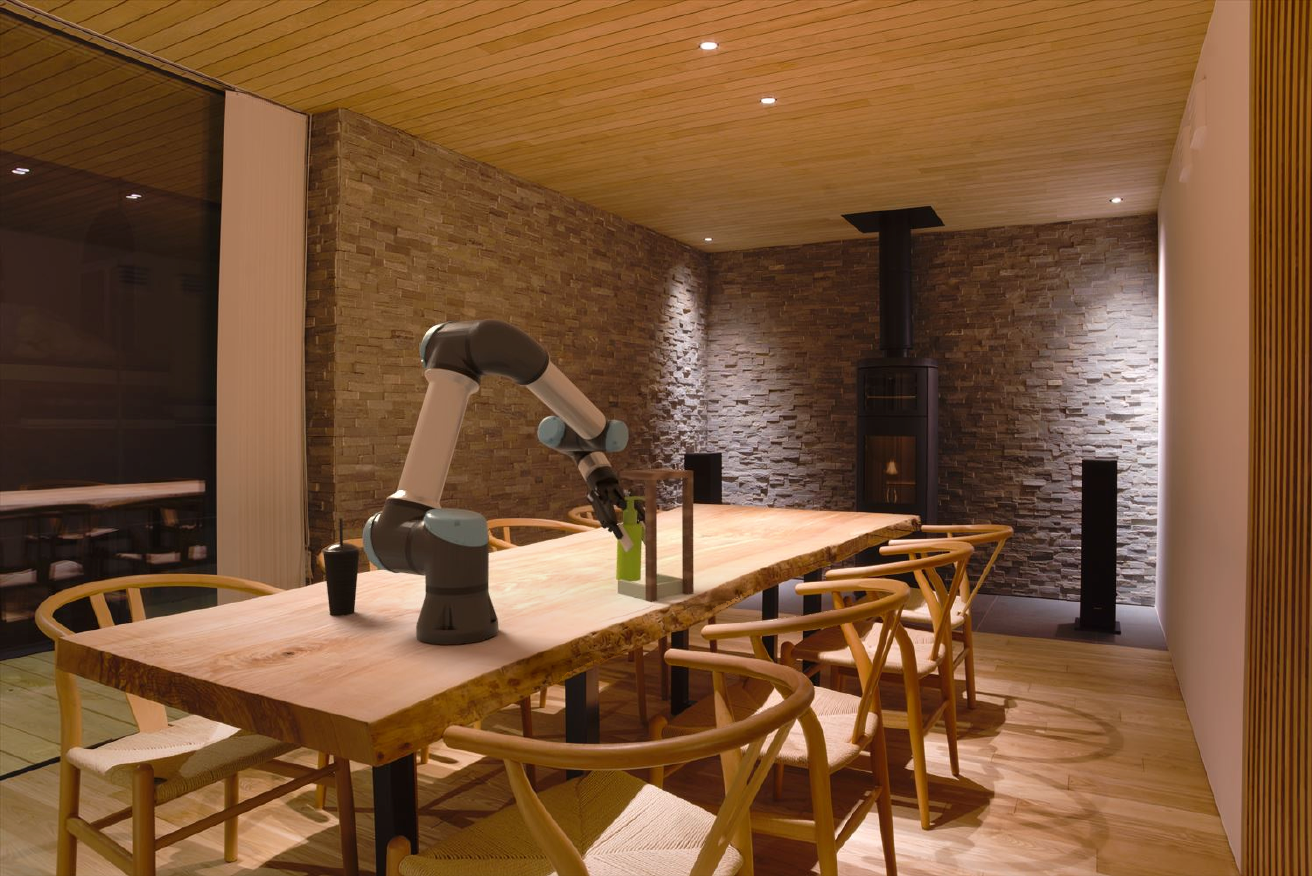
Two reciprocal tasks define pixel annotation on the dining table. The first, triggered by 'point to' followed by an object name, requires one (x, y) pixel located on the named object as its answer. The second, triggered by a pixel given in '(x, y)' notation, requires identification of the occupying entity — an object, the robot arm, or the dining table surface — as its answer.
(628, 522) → the soap dispenser
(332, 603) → the drinking cup
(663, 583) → the holder
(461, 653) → the dining table surface
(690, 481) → the wooden post arch
